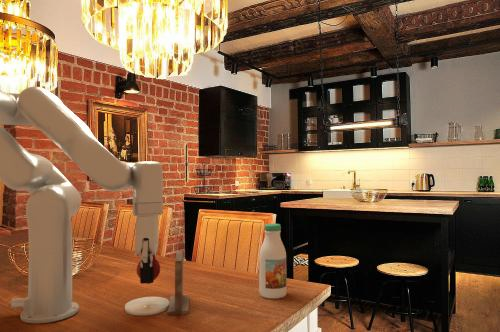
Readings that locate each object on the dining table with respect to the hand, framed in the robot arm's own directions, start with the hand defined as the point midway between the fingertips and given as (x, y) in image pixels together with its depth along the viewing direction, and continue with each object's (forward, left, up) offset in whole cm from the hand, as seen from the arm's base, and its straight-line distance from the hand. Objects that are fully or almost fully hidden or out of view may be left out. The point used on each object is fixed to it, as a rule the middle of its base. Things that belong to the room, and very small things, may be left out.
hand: (148, 278), depth 96 cm
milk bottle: (+34, +5, -8) cm, 35 cm away
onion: (0, 0, -2) cm, 2 cm away
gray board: (+8, 0, -7) cm, 11 cm away
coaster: (0, 0, -7) cm, 7 cm away
